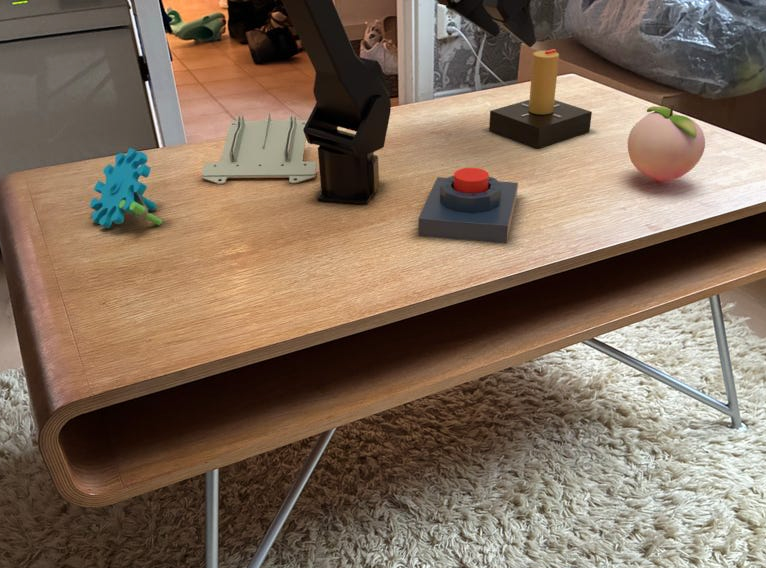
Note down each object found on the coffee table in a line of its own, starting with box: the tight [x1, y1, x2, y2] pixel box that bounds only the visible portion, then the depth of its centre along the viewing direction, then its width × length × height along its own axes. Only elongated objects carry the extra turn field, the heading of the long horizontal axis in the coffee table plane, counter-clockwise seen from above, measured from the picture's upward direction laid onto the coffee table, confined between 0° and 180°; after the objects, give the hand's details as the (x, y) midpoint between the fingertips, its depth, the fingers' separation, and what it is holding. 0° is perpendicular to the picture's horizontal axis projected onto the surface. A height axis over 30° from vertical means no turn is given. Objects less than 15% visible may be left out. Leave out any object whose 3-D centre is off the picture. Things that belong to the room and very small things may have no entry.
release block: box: [417, 174, 519, 244], centre depth 89 cm, size 12×10×4 cm
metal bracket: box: [201, 111, 318, 185], centre depth 104 cm, size 14×6×15 cm
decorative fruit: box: [627, 103, 706, 184], centre depth 94 cm, size 9×8×10 cm
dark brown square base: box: [488, 99, 593, 150], centre depth 113 cm, size 11×10×3 cm
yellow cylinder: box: [528, 48, 560, 115], centre depth 109 cm, size 4×4×8 cm
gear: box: [89, 147, 163, 229], centre depth 91 cm, size 11×6×10 cm
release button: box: [453, 167, 490, 194], centre depth 88 cm, size 4×4×2 cm
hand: (514, 39), depth 103 cm, fingers open, 9 cm apart
